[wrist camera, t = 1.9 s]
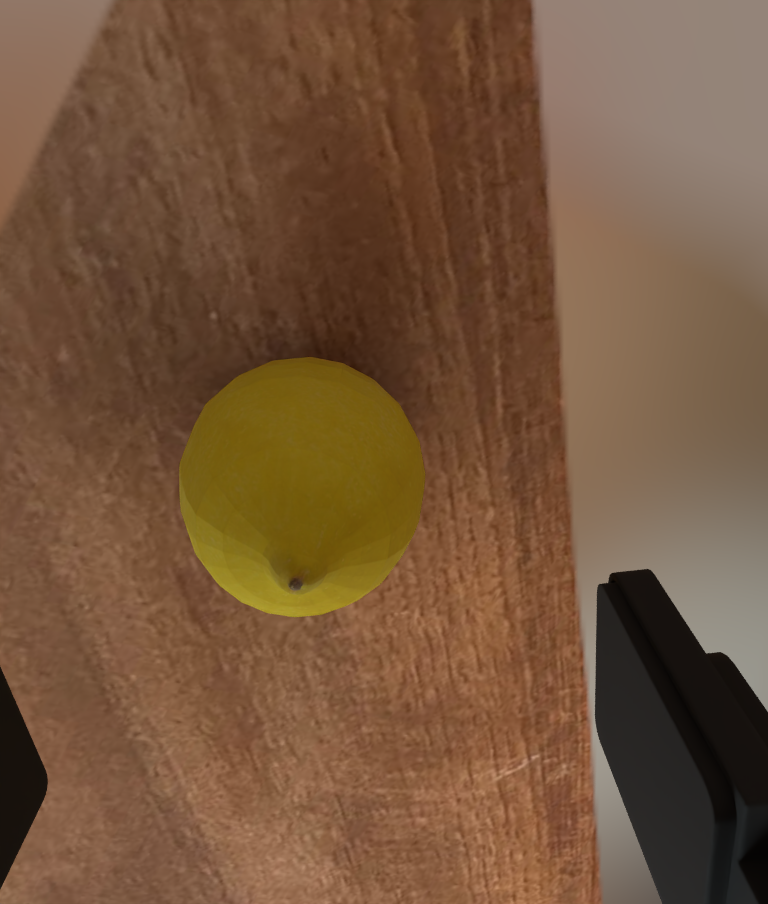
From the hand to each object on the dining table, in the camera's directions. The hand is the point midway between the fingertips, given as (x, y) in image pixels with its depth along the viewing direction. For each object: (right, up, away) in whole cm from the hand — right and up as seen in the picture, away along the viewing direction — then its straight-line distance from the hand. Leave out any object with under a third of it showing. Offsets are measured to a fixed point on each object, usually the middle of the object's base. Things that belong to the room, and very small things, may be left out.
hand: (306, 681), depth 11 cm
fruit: (-1, +5, +9) cm, 10 cm away
